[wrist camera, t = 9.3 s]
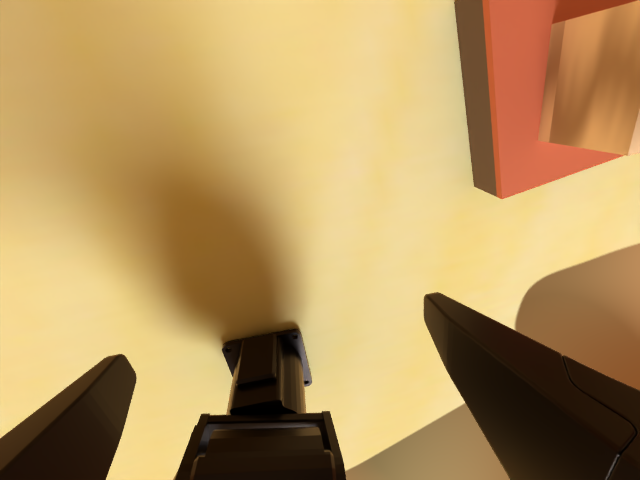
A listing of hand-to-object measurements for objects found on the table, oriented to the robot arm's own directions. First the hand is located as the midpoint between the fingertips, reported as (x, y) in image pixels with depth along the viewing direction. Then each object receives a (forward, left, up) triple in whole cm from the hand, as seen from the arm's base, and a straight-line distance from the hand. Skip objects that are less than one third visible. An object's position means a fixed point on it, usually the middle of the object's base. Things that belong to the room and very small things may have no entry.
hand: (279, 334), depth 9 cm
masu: (+5, -18, -10) cm, 21 cm away
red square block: (+5, -18, -13) cm, 23 cm away
